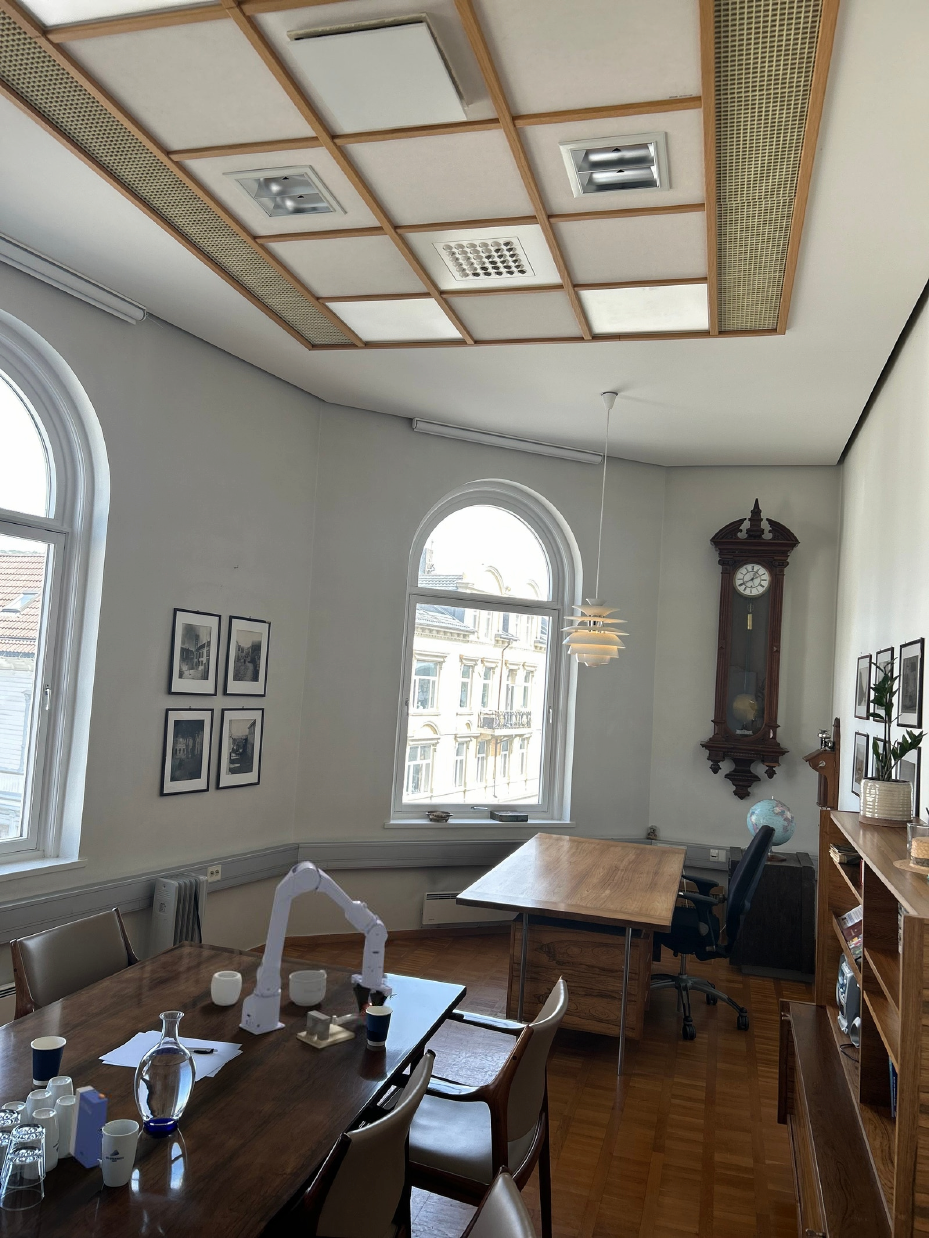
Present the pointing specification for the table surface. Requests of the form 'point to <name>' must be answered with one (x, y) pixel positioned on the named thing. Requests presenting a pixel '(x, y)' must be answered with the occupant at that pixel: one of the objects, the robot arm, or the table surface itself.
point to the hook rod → (351, 1015)
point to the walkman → (88, 1126)
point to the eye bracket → (323, 1031)
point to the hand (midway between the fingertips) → (369, 1015)
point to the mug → (226, 987)
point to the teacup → (307, 987)
